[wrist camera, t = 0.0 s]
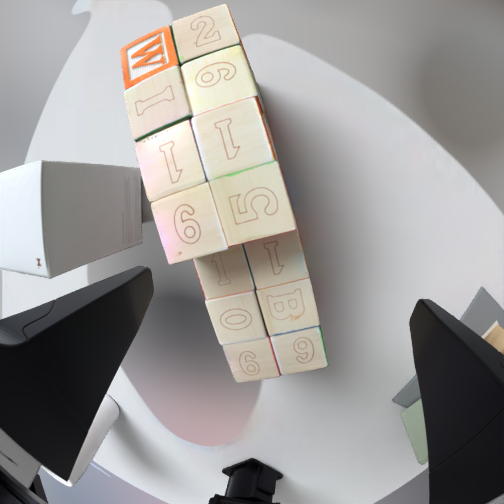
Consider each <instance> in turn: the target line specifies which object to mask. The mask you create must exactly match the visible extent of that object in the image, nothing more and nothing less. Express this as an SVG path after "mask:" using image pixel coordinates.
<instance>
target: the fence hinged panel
mask: <svg viewBox="0 0 504 504" xmlns="http://www.w3.org/2000/svg"><path fill="white" fill-rule="evenodd" d="M400 415H401V418H402V420H403V423H404V425H405V428H406V430H407V433H408V436H409V438H410V441H411V444H412V446H413V449H414V452H415V455H416V458H417V461H418V462H419V463H420V464H421V465H423V464H424V463H426V462H428V449H427V439H426V430H425V422H424V414H423V407H422V401H421V399H419V400H418V401H417V402H415V403H414V404H413V405H411V406H410V407H409V408H407V409H406V410H404V411H403V412H402V413H400Z"/></svg>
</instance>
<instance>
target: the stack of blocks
mask: <svg viewBox="0 0 504 504" xmlns="http://www.w3.org/2000/svg"><path fill="white" fill-rule="evenodd" d="M120 57H121V64H122V72H123V79H124V85H125V89H126V91H125V92H124V97H125V102H126V108H127V112H128V118H129V123H130V127H131V131H132V136H133V139H134V140H135V141H136V145H135V152H136V158H137V161H138V165H139V169H140V173H141V176H142V180H143V184H144V188H145V191H146V195H147V198H148V200H149V201H150V202H151V210H152V213H153V217H154V220H155V223H156V226H157V230H158V233H159V236H160V239H161V243H162V245H163V249H164V251H165V254H166V257H167V260H168V263H169V265H173V264H177V263H180V262H184V261H187V260H191V259H193V262H194V266H195V269H196V272H197V275H198V278H199V281H200V284H201V287H202V290H203V293H204V296H205V299H206V300H205V304H206V307H207V309H208V312H209V315H210V318H211V321H212V324H213V327H214V329H215V332H216V335H217V338H218V341H219V343H220V345H222V346H223V349H224V353H225V356H226V358H227V361H228V363H229V366H230V369H231V371H232V374H233V376H234V379H235V381H236V382H246V381H254V380H261V379H269V378H276V377H279V376H281V375H289V374H295V373H300V372H305V371H310V370H315V369H320V368H324V367H327V366H328V362H327V357H326V351H325V346H324V342H323V337H322V332H321V328H320V321H319V316H318V311H317V306H316V302H315V297H314V293H313V288H312V284H311V280H310V276H309V271H308V268H307V263H306V259H305V254H304V250H303V246H302V242H301V238H300V234H299V230H298V227H297V223H296V219H295V216H294V212H293V208H292V205H291V201H290V197H289V194H288V190H287V186H286V183H285V179H284V176H283V172H282V169H281V167H280V164H279V160H278V157H277V153H276V150H275V146H274V140H273V137H272V133H271V130H270V126H269V123H268V119H267V116H266V113H265V108H264V105H263V101H262V98H261V95H260V92H259V89H258V86H257V83H256V80H255V76H254V73H253V71H252V69H251V66H250V63H249V61H248V58H247V55H246V52H245V50H244V47H243V44H242V41H241V39H240V37H239V34H238V32H237V29H236V27H235V24H234V22H233V19H232V16H231V14H230V11H229V9H228V6H227V5H226V4H222V5H219V6H216V7H213V8H210V9H207V10H204V11H201V12H199V13H196V14H193V15H190V16H187V17H185V18H182V19H179V20H176V21H174V22H172V25H171V26H169V25H167V26H164V27H161V28H159V29H157V30H155V31H153V32H151V33H149V34H147V35H145V36H143V37H141V38H139V39H137V40H135V41H133V42H131V43H130V44H128V45H126V46H124V47H123V48H121V49H120Z"/></svg>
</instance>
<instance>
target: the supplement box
mask: <svg viewBox="0 0 504 504" xmlns="http://www.w3.org/2000/svg"><path fill="white" fill-rule="evenodd" d="M141 243H142V214H141V173H140V169H139V168H133V167H125V166H114V165H104V164H90V163H77V162H61V161H44V160H41V161H36V162H32V163H29V164H25V165H22V166H19V167H16V168H13V169H10V170H7V171H4V172H1V173H0V269H1V270H6V271H12V272H17V273H21V274H28V275H33V276H39V277H44V278H48V279H51V278H53V277H56V276H58V275H61V274H63V273H66V272H68V271H70V270H73V269H75V268H78V267H80V266H83V265H85V264H88V263H90V262H93V261H96V260H98V259H101V258H103V257H106V256H109V255H111V254H114V253H117V252H119V251H122V250H124V249H127V248H130V247H133V246H135V245H138V244H141Z"/></svg>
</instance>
